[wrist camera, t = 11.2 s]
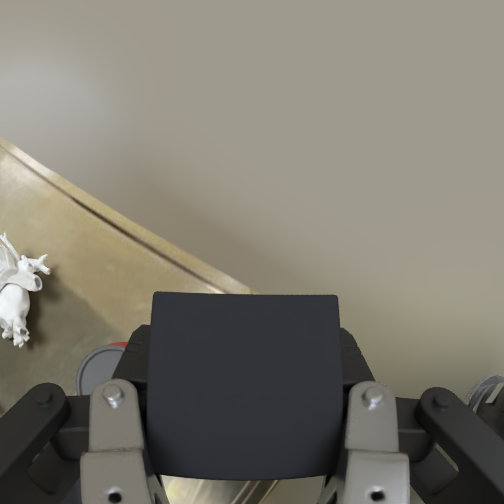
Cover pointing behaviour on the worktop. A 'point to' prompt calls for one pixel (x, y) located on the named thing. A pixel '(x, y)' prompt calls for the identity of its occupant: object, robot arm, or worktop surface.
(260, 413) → the pad block
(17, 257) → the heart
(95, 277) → the worktop surface
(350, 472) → the robot arm
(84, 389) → the beer can
